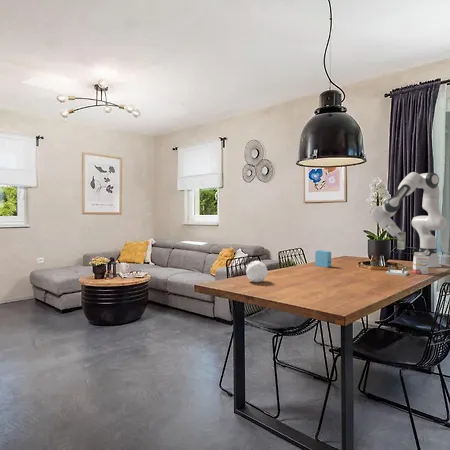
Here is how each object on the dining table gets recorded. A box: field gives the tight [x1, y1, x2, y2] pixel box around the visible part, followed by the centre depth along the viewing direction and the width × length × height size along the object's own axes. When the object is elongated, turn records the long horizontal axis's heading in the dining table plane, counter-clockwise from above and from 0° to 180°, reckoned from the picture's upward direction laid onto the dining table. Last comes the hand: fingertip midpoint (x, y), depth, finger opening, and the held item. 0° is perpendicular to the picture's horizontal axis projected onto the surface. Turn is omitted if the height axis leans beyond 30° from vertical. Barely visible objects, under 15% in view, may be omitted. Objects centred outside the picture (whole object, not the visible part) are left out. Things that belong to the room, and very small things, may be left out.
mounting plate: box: [385, 268, 409, 277], centre depth 255 cm, size 12×12×2 cm
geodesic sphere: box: [245, 259, 268, 283], centre depth 228 cm, size 14×14×14 cm
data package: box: [314, 249, 332, 268], centre depth 285 cm, size 12×4×12 cm, turn 37°
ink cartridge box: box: [412, 251, 429, 275], centre depth 255 cm, size 9×5×15 cm, turn 84°
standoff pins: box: [387, 265, 407, 273], centre depth 255 cm, size 10×10×3 cm
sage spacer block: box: [396, 231, 407, 250], centre depth 264 cm, size 4×4×12 cm
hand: (402, 239), depth 263 cm, fingers closed on sage spacer block, 4 cm apart
